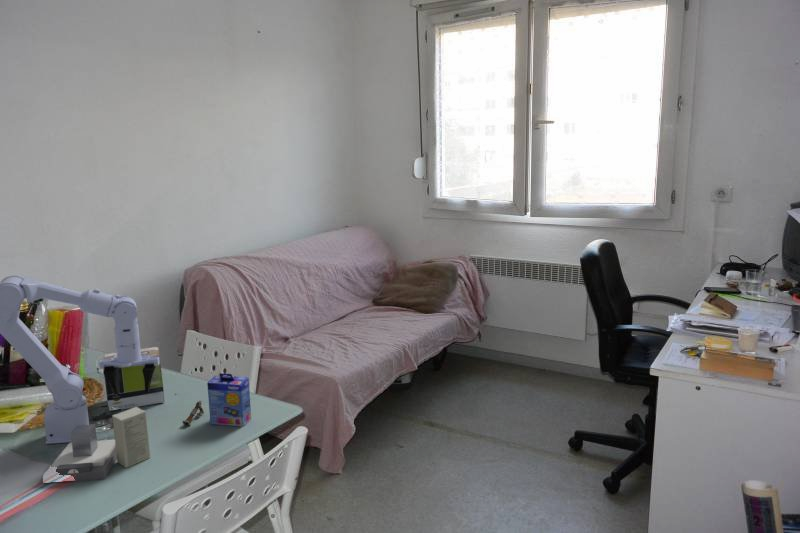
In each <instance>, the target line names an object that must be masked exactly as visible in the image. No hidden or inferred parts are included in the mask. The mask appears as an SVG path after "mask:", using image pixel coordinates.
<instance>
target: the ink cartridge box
mask: <svg viewBox="0 0 800 533" xmlns="http://www.w3.org/2000/svg"><path fill="white" fill-rule="evenodd" d="M206 385H207V395H208V409H209V410H208V411H209V423H210V425H218V426H230V427H231V426H233V427H245V426H246V425H247V424H248V423H249V421H251V419H252V408H251V407H252V406H251V395H250V394H251V392H250V379H249V377H245V376H233V374H232V373H218V375H214V376H213V377H212V378H211V379H209V380H208V381H207V384H206Z"/></svg>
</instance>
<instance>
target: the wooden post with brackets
mask: <svg viewBox="0 0 800 533" xmlns="http://www.w3.org/2000/svg"><path fill="white" fill-rule="evenodd" d="M202 403H203V402H202V400H198V401H197V402H196V404H195V407H194V408H193V409H192V410H191V412H190V413H189V416H187V418H186V419H185V420H182V424H183V425H184V426H190V427H191V425H192V424H191V422H192V420H193V418H195V420H198V419H200V417H201V416H202V415H203V414H205V410H204V409H203V408H202ZM198 410H199V412H198ZM201 414H202V415H201Z"/></svg>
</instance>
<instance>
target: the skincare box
mask: <svg viewBox="0 0 800 533" xmlns="http://www.w3.org/2000/svg"><path fill="white" fill-rule="evenodd" d="M111 416H112V425H113V434H114V439H115V444H116V452H117V460H116V462H117V463H118V464H120V465H121V466H122V467H124V468H129V467H131V466H134V465H135V464H138V463H141V462H143V461H145V460H148V459H149V458H151V452H150V451H151V450H150V442H149V434H148V423H147V411H145V410H144V409H142V408H140V407H133V408H128V409H126V410H123V411H120V412H118V413H115V414H112V415H111Z"/></svg>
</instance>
